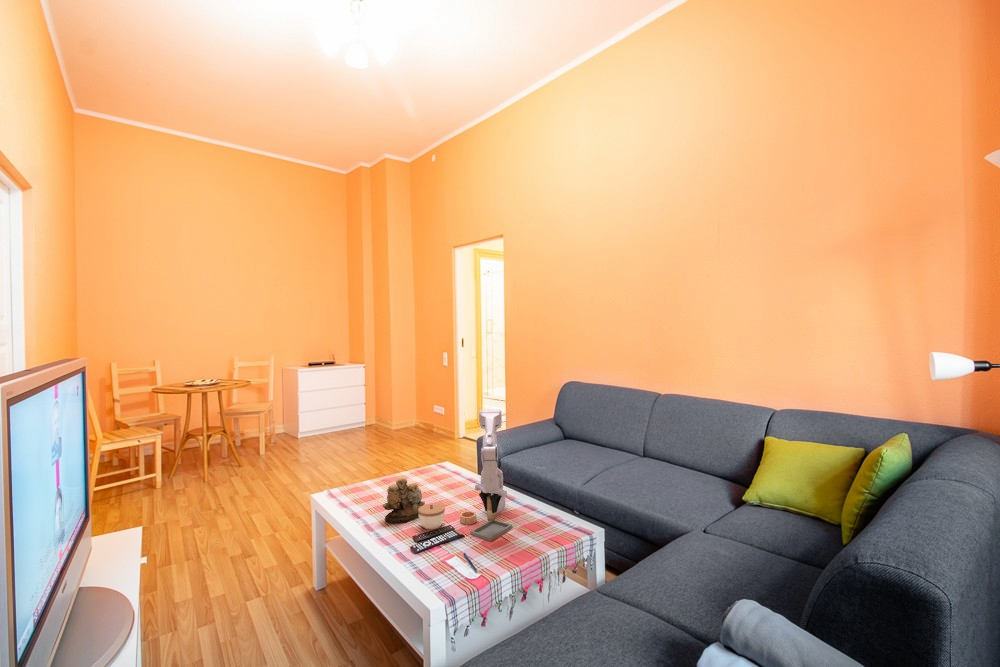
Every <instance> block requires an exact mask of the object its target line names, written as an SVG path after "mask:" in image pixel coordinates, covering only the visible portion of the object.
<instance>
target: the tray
mask: <svg viewBox="0 0 1000 667" xmlns="http://www.w3.org/2000/svg"><path fill="white" fill-rule="evenodd" d="M511 529H513V524H511V523H507V522H505V521H501V520H499V519H495V521H488V520H487V521H486V522H484V523H482V524H481V525H479V526H477V527H475V528H474V529H471V530H470V531H469V535H471V536H474V537H476V538H479V539H482V540H485V541H488V542H492V541H494V540H495V539H497V538H498V537H500V536H502V535H503V534H505V533H506V532H508V531H510V530H511Z"/></svg>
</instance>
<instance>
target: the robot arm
mask: <svg viewBox="0 0 1000 667" xmlns="http://www.w3.org/2000/svg"><path fill="white" fill-rule="evenodd" d="M478 418H479V419H478V420H479V421H478V423H479V426H480V429H482V430H484V432H485V433H484V434H483V436H482V447H481V449H480V454H481V455H480V458H481V466H482V470H481V473H480V483H477V484H475V485H474V490H475V491H480V492H479V494H478V496H479V498H480V500H481V502H482V504H483V508H481V509H480V511H481V512H484V513H487V496H490V500H491V504H492V513H495V515H496V514H498V513H500V512H502V511H503V510H505V509H507V507H508V506H506V497H507V496H508V491H507V490H505V489H504V475H503V474H504V473H503V471H502V470H501V469H500V468H499V467H498V461H499V448H498V436H497V432H498V431H497V430H499V429H500V428H502V424H503V423H502V422H503V421H502V420H503V419H502V410H501V408H500V409H480V410H479V412H478Z"/></svg>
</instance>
